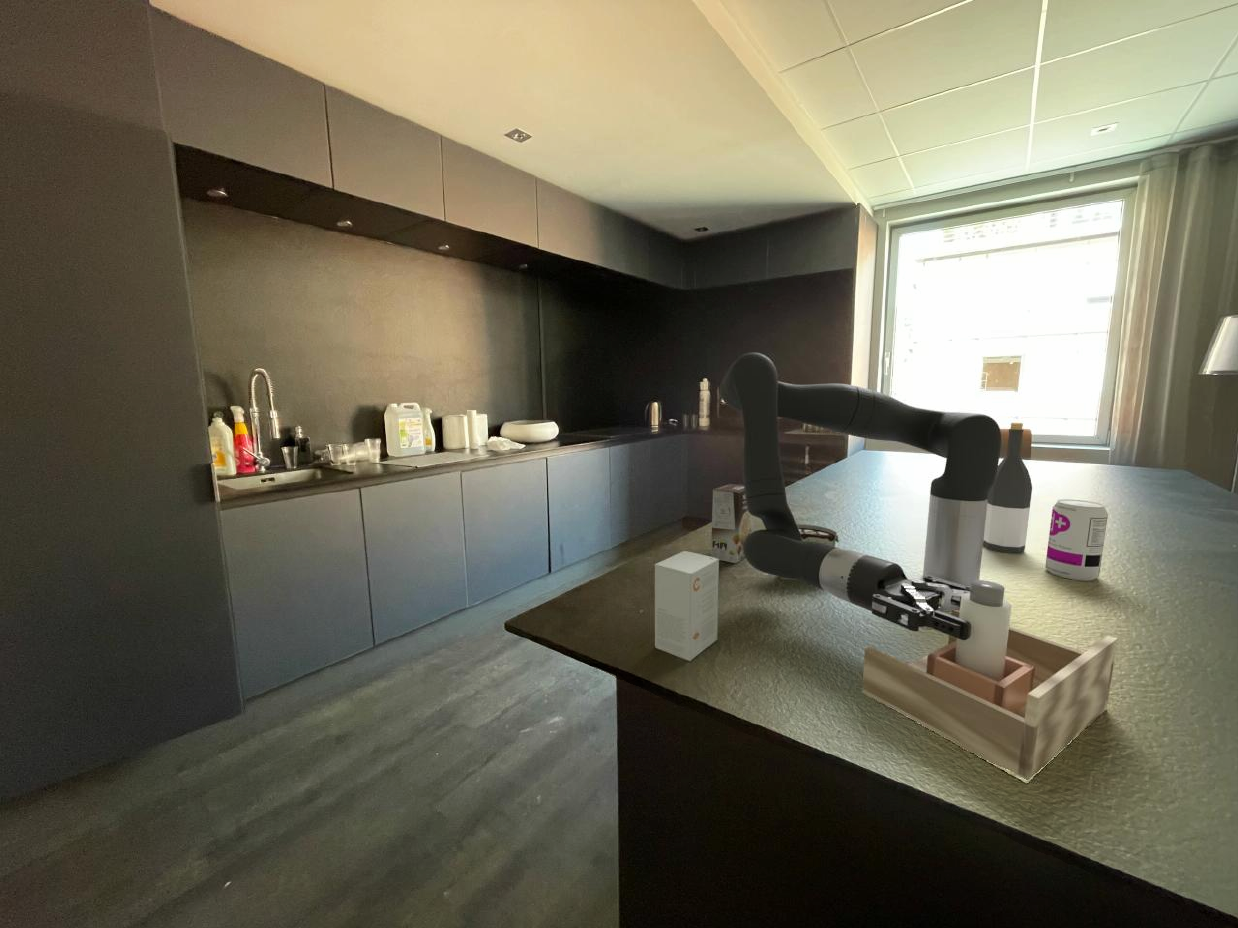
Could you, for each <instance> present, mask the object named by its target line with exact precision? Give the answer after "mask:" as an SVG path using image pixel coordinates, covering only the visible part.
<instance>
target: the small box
mask: <svg viewBox="0 0 1238 928" xmlns="http://www.w3.org/2000/svg"><path fill="white" fill-rule="evenodd" d="M719 565H720V560H719V559H717V558H714V557H711V555H710V556H709V555H705V554H701V553H696V552H692V551H688V550H683V551H680V552H679V553H677V554H674V555H672V556H669V557H667V558H665V559H663V560H662V561H659V562H657V563H655V564H654V647H655V648H656V649H658V650H660V651H662V652H665V653H668V654H670V655H673V656H675V657H678V658H680V659H682V660H686V661H688V662H691V661H692V660H693V659H695V658H696V657H697V656H698V655H700V654H701V653H702V652H703V651H705V650H706V649H707V648H708V647H710V646H711V645H712V644H714V643H715V642H716V641H718V623H719V622H718V620H719V619H718V617H719V616H718V612H719V611H718V610H719V609H718V608H719V574H720V573H719V569H720V567H719Z"/></svg>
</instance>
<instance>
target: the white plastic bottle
mask: <svg viewBox="0 0 1238 928" xmlns="http://www.w3.org/2000/svg"><path fill="white" fill-rule="evenodd" d="M1004 597H1005V586H1003V585H1002V584H1000V583H997V582H993V581H989V580H983V579H979V580H973V581H971V587H970V593H966V594H963V595H962V596H961V605H960V615H959V618H961V619H963V620H966V621H968V622H970V624H971V634H970V638H969V639H967V640H961V639H958V638H957V645H956V655H955V664H958V665H960V666H962V667H965V668H967V669H969V670H972V671H974V672H976V673H979V674H981V675H983V676H986V677H988V678H990V679H993V680H995V681H997V682H1000V681H1001V680H1003V675H1004V667H1005V658H1006V649H1007V641H1008V632H1009V627H1010V622H1011V612H1012V604H1011V603H1010V602H1008V601H1006V600H1005V599H1004Z"/></svg>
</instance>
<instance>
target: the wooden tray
mask: <svg viewBox="0 0 1238 928" xmlns="http://www.w3.org/2000/svg"><path fill="white" fill-rule="evenodd" d="M950 615H952V616H955V617H958V618H959V615H960V611H959V610H950ZM1117 643H1118V638H1117V637H1114V636H1110V635H1107V636H1105V637H1104V638H1103V639H1101V640H1100V641H1098V642H1097V643H1096V644H1094V645H1093V646H1092V647H1090V648H1089V649H1087V650H1086V651H1085V652H1084V651H1081V650H1078V649H1075V648H1072V647H1069V646H1067V645H1063V644H1060V643H1058V642H1055V641H1052V640H1049V639H1046V638H1043V637H1040V636H1037V635H1035V634H1031V633H1029V632H1025V631H1022V630H1020V629H1016V628H1013V627H1011V626H1009V632H1008V641H1007V649H1006V658H1005V667H1004V675H1003V680H1001V681H1000V682H997V681H995V680H993V679H990V678H988V677H986V676H983V675H981V674H979V673H976V672H974V671H972V670H969V669H967V668H965V667H962V666H960V665H958V664H955V655H956V645H957V638H956V637H953V636H950V635H948V641H947V644H946V645H944V646H942V647H940V648H938V649H936V650H933V651H932V652H930V653H928V654H927V655H924V656H923V657H920V658H919V659H917V660H915V661H912V662H911V663H906V662H904V661H902V660H899V659H897V658H895V657H893V656H891V655H889V654H887V653H885V652H883V651H881V650H878V649H876V648H873V647H872V646H870V645H869V646H867V647H865V648H864V658H863V673H862V683H861V684H862V687H861V693H862V694H863V693H864V694H863V695H865V694H866V696H867V697H869V698H871V699H872V698H873V699H872V700H874V699H875V700H874V701H876V700H877V701H876V702H878V701H879V702H878V703H880V702H881V703H883V704H885V705H887V706H888V707H887V706H886V707H887V708H889V707H890V708H893V709H895V710H897V711H899V712H900V713H902V714H903V715H905V716H908V717H909V718H911V719H913V720H914V721H916V722H918V723H920V724H921V725H923V726H925V727H926V728H928V729H929V730H928V729H927V730H928V731H930V730H931V731H930V732H932V731H934V732H935V733H937V734H939V735H940V736H939V735H938V736H939V737H941V736H942V737H941V738H943V737H945V738H946V739H948V740H950V741H951V742H950V741H949V742H950V743H952V742H954V743H955V744H956V745H955V744H954V745H955V746H957V745H958V746H957V747H959V746H960V747H959V748H961V747H962V748H964V749H965V751H966V750H968V751H969V752H968V751H967V752H968V753H970V752H971V753H974V754H975V755H978V756H979V757H981V758H983V759H985V760H988V761H989V762H991V763H993V764H996V765H998V766H1000V767H1003V768H1005V769H1008V770H1010V771H1011V772H1014V773H1015V774H1017V775H1019V776H1020V777H1023V778H1024V779H1026V780H1029V779H1030V778H1031V777H1032V776H1033V775H1034V774H1035V773H1037V772H1038V771H1039V770H1040V769H1041V768H1042V767H1044V766H1045V765H1046V764H1047V763H1048V762H1049V761H1050V760H1051V759H1052V758H1053V757H1054V756H1056V755H1057V754H1058V753H1059V752H1060V751H1061V750H1062V749H1063V748H1064V747H1066V746H1067V744H1068V743H1070V741H1071V740H1073V739H1074V738H1075V737H1076V736H1077V735H1078V734H1080V733H1081V732H1082V731H1083V730H1084V729H1085V728H1086V727H1087V726H1088V725H1089V724H1091V723H1092V722H1093V721H1094V720H1095V719H1096V718H1097V717H1098V716H1099V715H1100V714H1102V713H1103V712H1104V711H1105V710H1106V709H1108V704H1109V695H1110V691H1111V685H1112V684H1111V683H1112V679H1113V678H1112V677H1113V670H1114V665H1115V658H1116V651H1117V646H1118V645H1117ZM881 703H880V704H881ZM883 704H882V705H883ZM885 705H884V706H885ZM890 708H889V709H890ZM1106 711H1107V710H1106ZM1106 711H1105V712H1106ZM1105 712H1104V713H1105ZM1104 713H1103V714H1104ZM1103 714H1102V715H1103ZM903 715H902V716H903ZM905 716H904V717H905ZM1100 716H1101V715H1100ZM1100 716H1099V717H1100ZM1099 717H1098V718H1099ZM1098 718H1097V719H1098ZM1097 719H1096V720H1097ZM1096 720H1095V721H1096ZM914 721H913V722H914ZM1095 721H1094V722H1095ZM916 722H915V723H916ZM1094 722H1093V723H1094ZM1093 723H1092V724H1093ZM1092 724H1091V725H1092ZM921 725H920V726H921ZM923 726H922V727H923ZM925 727H924V728H925ZM926 728H925V729H926ZM1084 731H1085V730H1084ZM1084 731H1083V732H1084ZM934 732H933V733H934ZM1083 732H1082V733H1083ZM935 733H934V734H935ZM1082 733H1081V734H1082ZM937 734H936V735H937ZM1081 734H1080V735H1081ZM946 739H945V740H946ZM948 740H947V741H948ZM1067 747H1068V746H1067ZM1067 747H1066V748H1067ZM962 748H961V749H962ZM964 749H963V750H964ZM971 753H970V754H971ZM975 755H974V756H975ZM979 757H978V758H979Z"/></svg>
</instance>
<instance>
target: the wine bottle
mask: <svg viewBox="0 0 1238 928" xmlns="http://www.w3.org/2000/svg"><path fill="white" fill-rule="evenodd" d="M1023 424H1024V423H1023V422H1011V423H1010V428H1009V429H1008V440H1007V450H1006V455H1005V457H1004V458H1003V459H1002V461H1001V462H1000V463H998V468H997V474H996V479H995V482H994V484H993V486H992V487H991V489H990V491H989V494H988V502H987V512H986V522H985V531H984V541H983V548H986V549H987V550H991V551H995V552H999V553H1003V554H1005V553H1006V554H1018V555H1019V554H1021V553H1024V552H1025V549H1026V541H1027V536H1028V535H1027V534H1028V527H1029V518H1030V510H1031V503H1032V502H1031V500H1032V493H1033V484H1032V479H1031V476H1030V474H1029V470H1028V468H1027V467H1026V464H1025V463H1024V461H1023V459H1022V457H1021V452H1022V451H1021V450H1022V441H1023V433H1024V428H1023Z"/></svg>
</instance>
